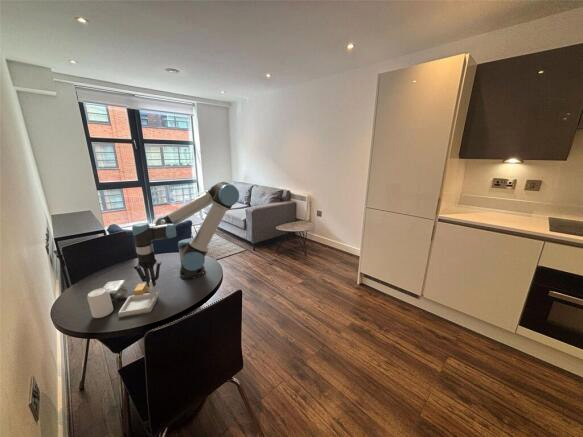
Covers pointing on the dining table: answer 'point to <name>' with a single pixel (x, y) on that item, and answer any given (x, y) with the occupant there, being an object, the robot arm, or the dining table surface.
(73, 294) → the dining table surface
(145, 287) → the block
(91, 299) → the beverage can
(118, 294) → the white hollow block
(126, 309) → the tray
